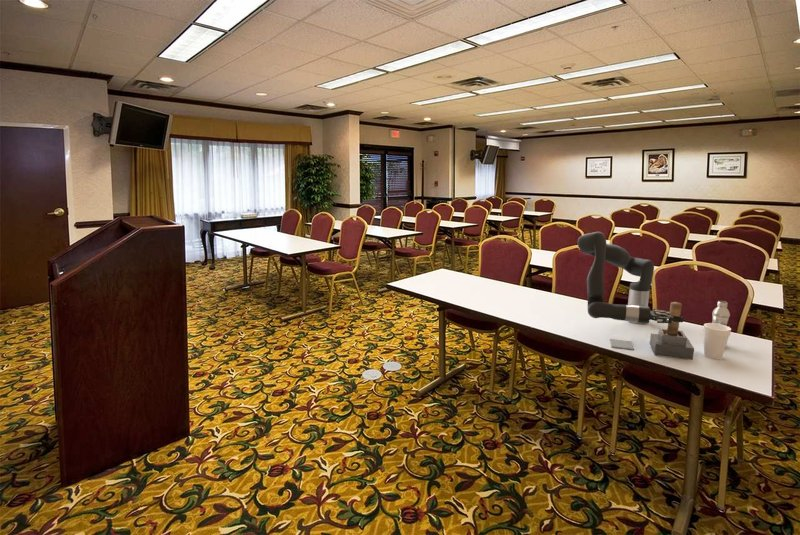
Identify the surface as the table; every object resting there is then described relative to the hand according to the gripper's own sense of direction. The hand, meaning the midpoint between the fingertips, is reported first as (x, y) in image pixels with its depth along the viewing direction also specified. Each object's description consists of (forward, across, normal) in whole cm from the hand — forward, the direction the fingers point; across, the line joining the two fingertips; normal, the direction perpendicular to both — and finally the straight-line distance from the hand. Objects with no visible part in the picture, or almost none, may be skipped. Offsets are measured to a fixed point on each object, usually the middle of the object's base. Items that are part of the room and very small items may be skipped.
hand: (681, 318), depth 189 cm
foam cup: (+13, +1, +16) cm, 21 cm away
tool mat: (-22, +1, +16) cm, 27 cm away
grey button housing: (-3, 0, +16) cm, 16 cm away
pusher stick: (-3, 0, +8) cm, 8 cm away
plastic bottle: (+18, +17, +16) cm, 30 cm away
